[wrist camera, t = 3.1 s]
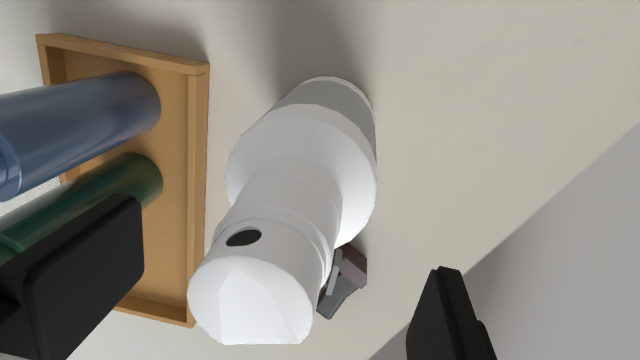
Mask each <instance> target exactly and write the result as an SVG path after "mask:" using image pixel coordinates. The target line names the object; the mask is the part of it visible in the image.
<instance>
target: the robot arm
mask: <svg viewBox="0 0 640 360" xmlns="http://www.w3.org/2000/svg"><path fill="white" fill-rule="evenodd" d="M144 269H145V264H144V246H143V227H142V208H141V203H140V202H138V201H137V198H136V197H135V196H132V195H128V194H123V193H119V192H115V193H113V194H111V195H110V196H108V197H107V198H105V199H103V200H102V201H100V202H99V203H97V204H96V205H94V206H93V207H91V208H89V209H88V210H86V211H85V212H83V213H82V214H80V215H79V216H77V217H75V218H74V219H72V220H71V221H69V222H68V223H66V224H65V225H63V226H61V227H60V228H58V229H57V230H55V231H54V232H52V233H51V234H49V235H47V236H46V237H44V238H43V239H41V240H40V241H38V242H37V243H35V244H33V245H32V246H30V247H29V248H27V249H26V250H24V251H23V252H21V253H19V254H18V255H16V256H15V257H13V258H12V259H10V260H9V261H7V262H5V263H4V264H2V265H1V266H0V360H66V359H67V358H68V357H69V356H70V355H71V353H72V352H73V351H74V350H75V349H76V348H77V347H78V346H79V345H80V344H81V343H82V342H83V340H84V339H85V338H86V337H87V336H88V335H89V334H90V333H91V332H92V331H93V330H94V329H95V327H96V326H97V325H98V324H99V323H100V322H101V321H102V320H103V319H104V318H105V317H106V316H107V314H108V313H109V312H110V311H111V310H112V309H113V308H114V307H115V306H116V305H117V304H118V303H119V302H120V300H121V299H122V298H123V297H124V296H125V295H126V294H127V293H128V292H129V291H130V290H131V289H132V287H133V286H134V285H135V284H136V283H137V282H138V281H139V280H140V279H141V277H142V275H143V273H144ZM406 352H407V360H497V358H496V355H495V352H494V349H493V347H492V344H491V341H490V338H489V336H488V333H487V330H486V328H485V326H484V324H483V323H482V322H481V321H479V320H477V319H476V316H475V313H474V310H473V307H472V304H471V301H470V299H469V296H468V293H467V290H466V287H465V284H464V281H463V278H462V275H461V273H460V271H459V270H456V269H451V268H447V267H442V266H439V267H438V269H437V270H434V269H432V270H431V272H430V274H429V276H428V279H427V282H426V284H425V287H424V289H423V292H422V294H421V297H420V300H419V302H418V305H417V307H416V310H415V313H414V315H413V318H412V320H411V323H410V325H409V328H408V331H407V334H406Z"/></svg>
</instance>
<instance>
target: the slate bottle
mask: <svg viewBox="0 0 640 360" xmlns="http://www.w3.org/2000/svg"><path fill="white" fill-rule="evenodd" d="M160 116H161V102H160V99H159V96H158V94H157V92H156V90H155V88H154V87H153V86H152V84H151V83H150V82H149V81H148V80H147V79H145V78H144V77H143V76H141V75H139V74H137V73H135V72H132V71H127V70H120V71H115V72H110V73H105V74H100V75H95V76H90V77H85V78H80V79H75V80H70V81H65V82H60V83H55V84H50V85H45V86H40V87H35V88H30V89H25V90H20V91H15V92H10V93H5V94H1V95H0V202H5V201H8V200H10V199H12V198H14V197H16V196H18V195H20V194H22V193H24V192H26V191H29V190H31V189H33V188H35V187H37V186H39V185H41V184H43V183H45V182H47V181H49V180H51V179H53V178H55V177H57V176H59V175H61V174H63V173H65V172H67V171H69V170H71V169H73V168H75V167H77V166H79V165H81V164H83V163H85V162H87V161H89V160H91V159H93V158H95V157H97V156H99V155H101V154H103V153H105V152H107V151H109V150H111V149H113V148H115V147H117V146H119V145H121V144H123V143H125V142H127V141H129V140H131V139H133V138H135V137H137V136H139V135H141V134H143V133H145V132H147V131H149V130H151V129H152V128H154V127H155V126H156V124H157V123H158V121H159V119H160Z"/></svg>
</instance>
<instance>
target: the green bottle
mask: <svg viewBox="0 0 640 360" xmlns="http://www.w3.org/2000/svg"><path fill="white" fill-rule="evenodd" d="M162 191H163V178H162V175H161V173H160V171H159V169H158V167H157V166H156V165H155V164H154V163H153V162H152V161H151V160H150V159H149V158H147V157H146V156H144V155H142V154H139V153H136V152H123V153H120V154H118V155H116V156H114V157H112V158H110V159H108V160H107V161H105V162H103V163H101V164H99V165H97V166H95V167H93V168H92V169H90V170H88V171H86V172H84V173H82V174H80V175H78V176H76V177H75V178H73V179H71V180H69V181H67V182H65V183H63V184H61V185H60V186H58V187H56V188H54V189H52V190H50V191H48V192H46V193H44V194H43V195H41V196H39V197H37V198H35V199H33V200H31V201H29V202H28V203H26V204H24V205H22V206H20V207H18V208H16V209H14V210H12V211H11V212H9V213H7V214H5V215H3V216H1V217H0V266H1V265H2V264H4V263H5V262H7V261H9V260H10V259H12V258H13V257H15V256H16V255H18V254H19V253H21V252H23V251H24V250H26V249H27V248H29V247H30V246H32V245H33V244H35V243H37V242H38V241H40V240H41V239H43V238H44V237H46V236H47V235H49V234H51V233H52V232H54V231H55V230H57V229H58V228H60V227H61V226H63V225H65V224H66V223H68V222H69V221H71V220H72V219H74V218H75V217H77V216H79V215H80V214H82V213H83V212H85V211H86V210H88V209H89V208H91V207H93V206H94V205H96V204H97V203H99V202H100V201H102V200H103V199H105V198H107V197H108V196H110V195H111V194H113V193H115V192H119V193H123V194H128V195H132V196H135V197H136V198H137V201H138V202H140V203H141V208H142V211H143V210H144V209H145V208H147V207H148V206H149V205H150V204H151V203H153V202H154V201H155V200H156V199H157V198H159V196H160V195H161V193H162Z"/></svg>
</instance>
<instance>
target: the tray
mask: <svg viewBox="0 0 640 360" xmlns="http://www.w3.org/2000/svg"><path fill="white" fill-rule="evenodd" d="M35 37H36V42H37V48H38V54H39V60H40V66H41V72H42V78H43V83H44V86H45V85H50V84H55V83H60V82H65V81H70V80H75V79H80V78H85V77H90V76H95V75H100V74H105V73H110V72H115V71H120V70H127V71H132V72H135V73H137V74H139V75H141V76H143V77H144V78H145V79H147V80H148V81H149V82H150V83H151V84H152V86H153V87H154V88H155V90H156V92H157V94H158V96H159V99H160V102H161V116H160V119H159V121H158V123H157V124H156V126H155V127H154V128H152V129H151V130H149V131H147V132H145V133H143V134H141V135H139V136H137V137H135V138H133V139H131V140H129V141H127V142H125V143H123V144H121V145H119V146H117V147H115V148H113V149H111V150H109V151H107V152H105V153H103V154H101V155H99V156H97V157H95V158H93V159H91V160H89V161H87V162H85V163H83V164H81V165H79V166H77V167H75V168H73V169H71V170H69V171H67V172H65V173H63V174H61V175H59V177H60V183H61V184H63V183H65V182H67V181H69V180H71V179H73V178H75V177H76V176H78V175H80V174H82V173H84V172H86V171H88V170H90V169H92V168H93V167H95V166H97V165H99V164H101V163H103V162H105V161H107V160H108V159H110V158H112V157H114V156H116V155H118V154H120V153H123V152H136V153H139V154H142V155H144V156H146V157H147V158H149V159H150V160H151V161H152V162H153V163H154V164H155V165H156V166H157V167H158V169H159V171H160V173H161V175H162V178H163V191H162V193H161V195H160V196H159V198H157V199H156V200H155V201H154V202H153V203H151V204H150V205H149V206H148V207H147V208H145V209H144V210H143V211H142V227H143V246H144V264H145V269H144V273H143V275H142V277H141V279H140V280H139V281H138V282H137V283H136V284H135V285H134V286H133V287H132V289H131V290H130V291H129V292H128V293H127V294H126V295H125V296H124V297H123V298H122V299H121V300H120V302H119V303H118V304H117V305H116V306H115V307H114V308H113V309H112V310H116V311H120V312H124V313H128V314H132V315H137V316H141V317H145V318H149V319H153V320H158V321H162V322H166V323H170V324H174V325H179V326H183V327H187V328H191V329H192V328H193V327H194V325H195V323H196V320H195V318H194V316H193V315H192V313H191V311H190V308H189V304H188V299H187V290H188V285H189V280H190V278H191V276H192V275H193V273H194V272H195V271H196V269H197V268H198V266H199V265H200V263H201V262H202V261H203V259H204V227H205V195H206V163H207V131H208V99H209V67H210V63H206V62H201V61H196V60H191V59H186V58H181V57H176V56H171V55H166V54H161V53H156V52H151V51H146V50H141V49H136V48H131V47H126V46H121V45H116V44H111V43H106V42H101V41H96V40H91V39H86V38H81V37H76V36H71V35H66V34H61V33H54V34H36V35H35Z"/></svg>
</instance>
